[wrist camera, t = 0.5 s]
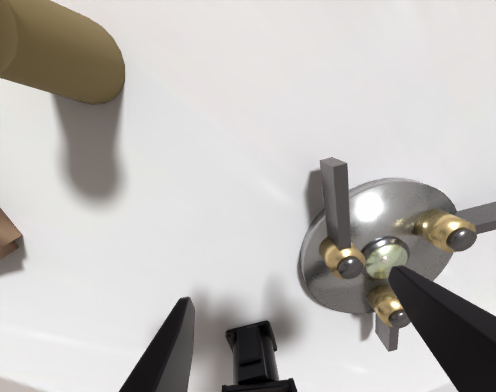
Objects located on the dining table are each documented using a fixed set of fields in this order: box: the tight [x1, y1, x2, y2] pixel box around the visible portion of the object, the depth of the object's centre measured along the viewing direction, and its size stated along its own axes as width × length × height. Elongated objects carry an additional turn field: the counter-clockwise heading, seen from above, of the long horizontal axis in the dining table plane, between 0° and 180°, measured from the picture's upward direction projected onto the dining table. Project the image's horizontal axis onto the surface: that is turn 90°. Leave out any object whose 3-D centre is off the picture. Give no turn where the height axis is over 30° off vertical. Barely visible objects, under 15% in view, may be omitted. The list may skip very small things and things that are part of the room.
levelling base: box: [300, 178, 457, 352], centre depth 24 cm, size 24×19×5 cm
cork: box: [0, 0, 125, 104], centre depth 11 cm, size 6×6×11 cm
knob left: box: [319, 157, 366, 279], centre depth 19 cm, size 12×4×4 cm, turn 13°
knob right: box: [414, 202, 496, 253], centre depth 21 cm, size 12×4×4 cm, turn 103°
